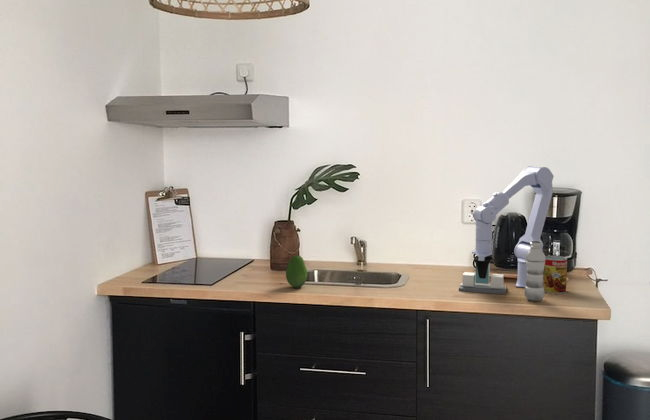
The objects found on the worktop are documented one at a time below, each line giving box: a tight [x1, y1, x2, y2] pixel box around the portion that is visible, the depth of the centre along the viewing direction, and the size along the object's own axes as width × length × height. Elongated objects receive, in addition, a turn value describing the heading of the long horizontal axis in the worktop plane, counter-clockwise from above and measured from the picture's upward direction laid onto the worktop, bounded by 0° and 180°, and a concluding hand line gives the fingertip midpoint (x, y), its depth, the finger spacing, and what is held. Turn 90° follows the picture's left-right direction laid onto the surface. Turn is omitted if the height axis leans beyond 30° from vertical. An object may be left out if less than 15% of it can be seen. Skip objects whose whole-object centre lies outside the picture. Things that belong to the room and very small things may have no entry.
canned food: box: [543, 255, 568, 294], centre depth 224 cm, size 8×8×12 cm
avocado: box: [285, 255, 308, 289], centre depth 233 cm, size 8×8×12 cm
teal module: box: [475, 262, 491, 284], centre depth 227 cm, size 4×4×7 cm
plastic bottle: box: [524, 241, 546, 302], centre depth 211 cm, size 6×7×20 cm
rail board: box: [458, 271, 508, 295], centre depth 227 cm, size 16×9×6 cm, turn 70°
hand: (483, 276), depth 227 cm, fingers closed on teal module, 4 cm apart
